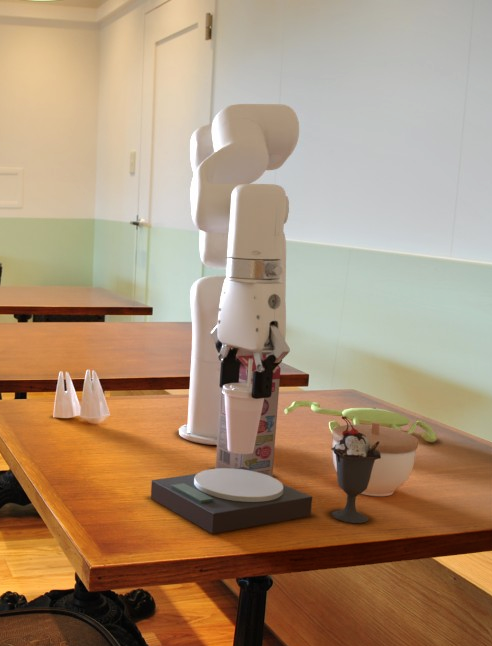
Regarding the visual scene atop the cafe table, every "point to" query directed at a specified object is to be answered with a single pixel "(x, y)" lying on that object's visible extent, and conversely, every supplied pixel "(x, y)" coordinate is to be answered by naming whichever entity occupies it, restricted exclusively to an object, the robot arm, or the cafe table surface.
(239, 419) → the smoothie
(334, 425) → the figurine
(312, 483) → the cafe table surface
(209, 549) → the cafe table surface
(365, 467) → the sundae
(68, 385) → the shaker set
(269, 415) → the juice carton
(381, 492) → the lidded bowl
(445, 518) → the cafe table surface
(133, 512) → the cafe table surface
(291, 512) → the scale
